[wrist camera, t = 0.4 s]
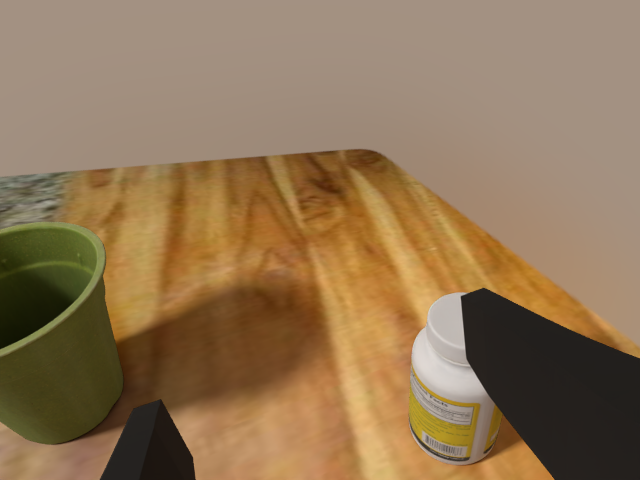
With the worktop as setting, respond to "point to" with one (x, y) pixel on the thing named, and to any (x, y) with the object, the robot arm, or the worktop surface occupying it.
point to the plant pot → (55, 333)
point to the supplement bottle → (449, 391)
